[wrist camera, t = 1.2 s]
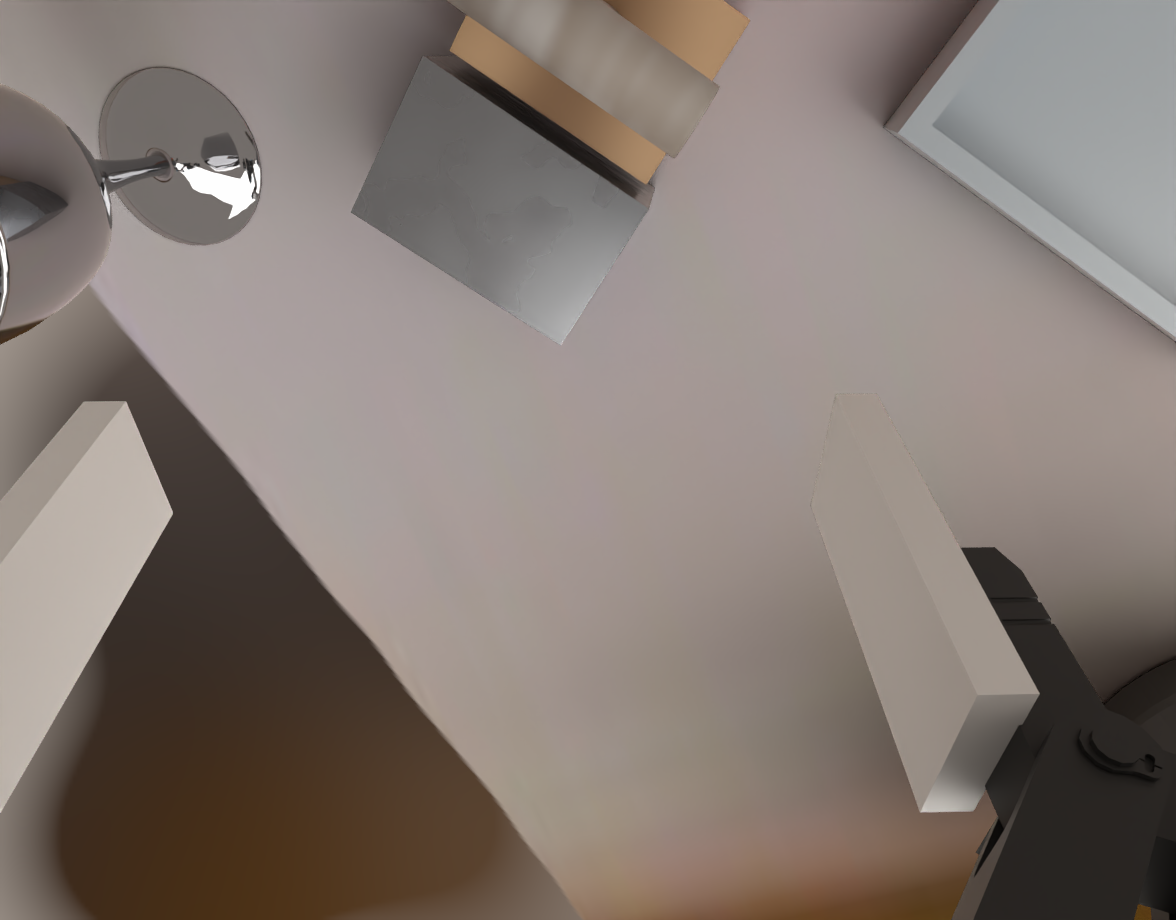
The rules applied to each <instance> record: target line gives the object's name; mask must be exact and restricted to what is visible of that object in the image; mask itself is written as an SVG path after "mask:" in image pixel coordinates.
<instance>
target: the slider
mask: <svg viewBox="0 0 1176 920" xmlns="http://www.w3.org/2000/svg"><path fill="white" fill-rule="evenodd" d="M446 1H447V2H449V3H450V4H452V5H453V6H455V7H456V8H458V9H459V10H460V11H462V12H463V13H465V14H466V16H465V19H464V21H463V23H462V25H461V27H460V29H459V31H458V33H457V35H456V38H455V40H454V42H453V44H452V46H451V48H450V50H449V51H451V52H452V53H454V54H455V55H457V56H458V57H460V58H461V59H463V60H464V61H466V62H467V63H468V64H470V65H471V66H473V67H474V68H476V69H477V70H479V71H480V72H482V73H483V74H485V75H486V76H488V77H489V78H490V79H492V80H493V81H495V82H496V83H498V84H499V85H501V86H502V87H504V88H505V89H507V90H508V91H509V92H511V93H512V94H514V95H515V96H517V97H518V98H520V99H521V100H523V101H524V102H526V103H527V104H529V105H530V106H531V107H533V108H534V109H536V110H537V111H539V112H540V113H542V114H543V115H545V116H546V117H548V118H549V119H550V120H552V121H553V122H555V123H556V124H558V125H559V126H561V127H562V128H564V129H565V130H567V131H568V132H569V133H571V134H572V135H574V136H575V137H577V138H578V139H580V140H581V141H583V142H584V143H586V144H587V145H589V146H590V147H591V148H593V149H594V150H596V151H597V152H599V153H600V154H602V155H603V156H605V157H606V158H608V159H609V160H610V161H612V162H613V163H615V164H616V165H618V166H619V167H621V168H622V169H624V170H625V171H627V172H628V173H629V174H631V175H632V176H634V177H635V178H637V179H638V180H640V181H641V182H643V183H644V184H647V183H648V181H649V180H650V178H651V176H652V175H653V173H654V172H655V170H656V169H657V167H658V165H659V164H660V162H661V161H662V159H663V158H664V156H665V154H666V153H667V154H668V155H670V156H671V157H672V158H675V157H676V156H677V154H678V153H679V151H680V150H681V149H682V147H683V146H684V144H685V143H686V141H687V140H688V138H689V137H690V135H691V134H692V132H693V131H694V129H695V127H696V126H697V124H698V123H699V121H700V120H701V118H702V116H703V115H704V113H705V112H706V110H707V108H708V107H709V105H710V103H711V102H712V100H713V98H714V97H715V95H716V93H717V91H718V90H719V87H720V86H718V85H717V84H716V83H714V82H713V81H712V80H713V79H714V77H715V76H716V74H717V72H718V71H719V69H720V68H721V66H722V64H723V63H724V61H725V60H726V58H727V57H728V55H729V53H730V52H731V50H732V49H733V47H734V46H735V44H736V42H737V41H738V39H739V38H740V36H741V35H742V33H743V31H744V30H745V28H746V27H747V25H748V23H749V22H750V20H749V19H748V18H747V17H745V16H744V15H742V14H741V13H740V12H738V11H737V10H736V9H734V8H733V7H732V6H730V5H729V4H728V3H726V2H725V1H723V0H446Z"/></svg>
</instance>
